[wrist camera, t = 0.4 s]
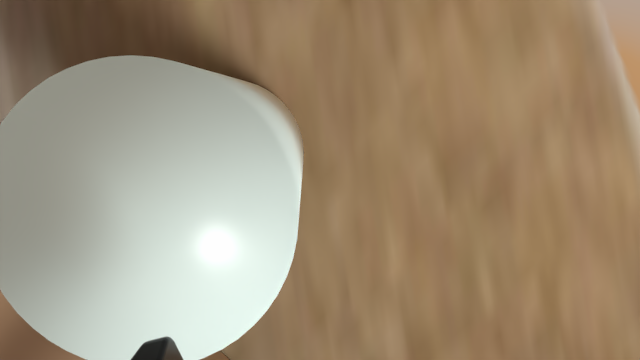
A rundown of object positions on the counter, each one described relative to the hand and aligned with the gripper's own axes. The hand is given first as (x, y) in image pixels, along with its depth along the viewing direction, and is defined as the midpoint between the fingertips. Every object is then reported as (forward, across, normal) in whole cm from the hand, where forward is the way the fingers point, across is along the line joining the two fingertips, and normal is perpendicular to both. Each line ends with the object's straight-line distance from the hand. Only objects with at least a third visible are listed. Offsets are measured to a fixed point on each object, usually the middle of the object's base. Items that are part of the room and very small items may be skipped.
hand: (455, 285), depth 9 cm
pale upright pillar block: (+15, +5, +4) cm, 16 cm away
